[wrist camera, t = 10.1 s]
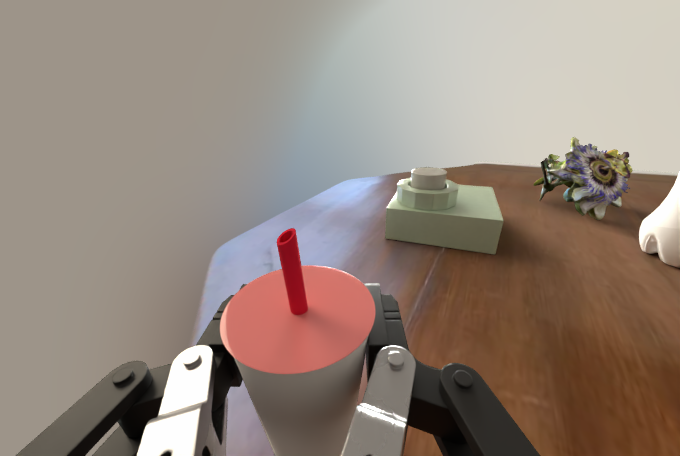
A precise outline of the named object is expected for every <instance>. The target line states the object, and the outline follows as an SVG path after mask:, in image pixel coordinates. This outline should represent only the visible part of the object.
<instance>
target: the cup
mask: <svg viewBox="0 0 680 456" xmlns="http://www.w3.org/2000/svg"><path fill="white" fill-rule="evenodd" d="M277 246H278V251H279V256H280V261H281V266H282V269H280V270H277V271H273V272H271V273H268V274H265V275H263V276H261V277H259V278H257V279H255V280H253V281H252V282H250V283H249V284H247V285H246V286H244V287H243V288H242V289H241V290H239V291H238V292H237V293H236V294H235V295H234V296H233V298H232V299H231V300H230V301H229V303H228V304H227V306H226V308H225V310H224V312H223V314H222V317H221V322H220V335H221V339H222V342H223V344H224V346H225V347H226V349H227V350H228V352H229V353H230V354H231V355H232V356H233V357H234V359H235V361H236V364H237V366H238V368H239V371H240V373H241V376H242V378H243V381H244V383H245V386H246V388H247V390H248V393H249V395H250V398H251V400H252V402H253V405H254V407H255V410H256V412H257V414H258V417H259V419H260V421H261V424H262V426H263V429H264V431H265V433H266V436H267V438H268V440H269V443H270V445H271V448H272V450H273V452H274V455H275V456H340V455H341V452H342V449H343V446H344V443H345V440H346V437H347V434H348V431H349V428H350V425H351V422H352V419H353V416H354V413H355V410H356V407H357V401H358V395H359V389H360V383H361V377H362V371H363V365H364V359H365V353H366V346H367V341H368V335H369V333H370V331H371V329H372V327H373V324H374V320H375V303H374V300H373V297H372V295H371V293H370V292H369V290H368V289H367V288H366V286H365V285H364V284H363V283H362V282H360V281H359V280H358V279H356V278H355V277H353V276H352V275H350V274H348V273H346V272H343V271H340V270H337V269H334V268H329V267H323V266H301V261H300V255H299V249H298V243H297V237H296V230H295V229H293V228H291V229H288V230H286V231H285V232H283V233H282V234H281V235H280V236H279V238H278V239H277Z"/></svg>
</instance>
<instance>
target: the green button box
mask: <svg viewBox="0 0 680 456" xmlns="http://www.w3.org/2000/svg"><path fill="white" fill-rule="evenodd" d="M410 183H411V178H407V179H404V180H401V181H400V182H399V183H398V185H397V193H396V195H395V196H394V198H393V199H392V201H391V202H390V204H389V205H388V207H387V209H386V231H385V238H386V239H393V240H400V241H407V242H413V243H420V244H427V245H434V246H441V247H447V248H454V249H461V250H468V251H474V252H481V253H488V254H496V250H497V246H498V242H499V238H500V234H501V229H502V225H503V218H502V215H501V212H500V209H499V206H498V203H497V200H496V197H495V194H494V191H493V188H492V187H482V186H468V185H458V184H456V183H454V182H452V181H450V180H446V184H445V189H442V190H432V191H431V190H419V189H416V188H412V187H410Z"/></svg>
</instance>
